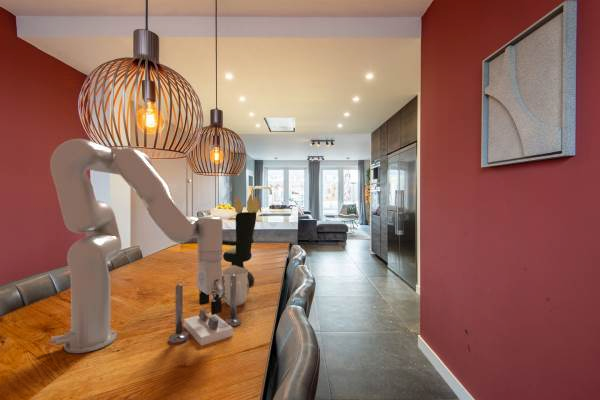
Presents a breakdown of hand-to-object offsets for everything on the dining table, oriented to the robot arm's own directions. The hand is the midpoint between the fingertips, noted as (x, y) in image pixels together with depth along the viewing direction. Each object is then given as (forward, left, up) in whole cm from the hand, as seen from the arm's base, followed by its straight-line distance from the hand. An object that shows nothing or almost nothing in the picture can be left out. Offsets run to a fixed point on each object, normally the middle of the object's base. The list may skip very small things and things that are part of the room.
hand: (210, 308), depth 93 cm
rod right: (+9, +2, -8) cm, 12 cm away
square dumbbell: (0, +2, -5) cm, 5 cm away
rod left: (-9, +2, -8) cm, 12 cm away
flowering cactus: (+31, +39, -8) cm, 51 cm away
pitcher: (+18, +18, -8) cm, 27 cm away
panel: (0, +2, -8) cm, 8 cm away
